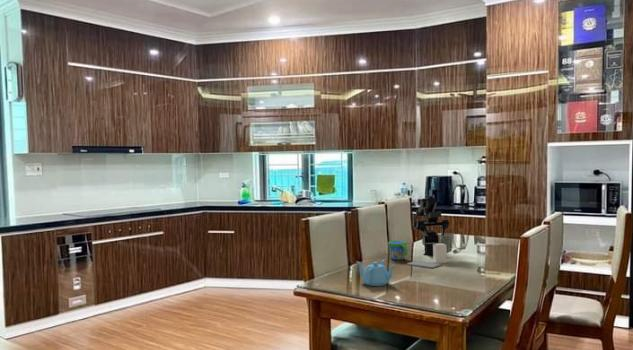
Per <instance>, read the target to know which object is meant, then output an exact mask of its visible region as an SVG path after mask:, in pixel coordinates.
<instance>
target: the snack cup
mask: <svg viewBox="0 0 633 350" xmlns="http://www.w3.org/2000/svg"><path fill="white" fill-rule="evenodd" d="M387 252H389V254H390V259H391V260H394V261H402V260H405V256H407V255H408V249H407V242H406V241H405V240H404V241H403V240H390V241H388V242H387Z"/></svg>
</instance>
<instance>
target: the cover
mask: <svg viewBox="0 0 633 350" xmlns="http://www.w3.org/2000/svg"><path fill="white" fill-rule="evenodd" d="M447 251H448V250H447V244H445V243H444V242H443V243H439V242H438V243H437V244H433V256H432V257H433V263H440V264H446V263H448V254H447V253H448V252H447Z"/></svg>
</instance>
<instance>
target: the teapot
mask: <svg viewBox="0 0 633 350" xmlns="http://www.w3.org/2000/svg"><path fill="white" fill-rule="evenodd" d="M355 262H356V263H357V264H358V267H359V268H358V269H359V275H360V276H361V277H362V278H361V281H362V282H363V283H364V284H365V285H366V286H371V287H381V286H382V287H383V286H386V285H388V284H389V282H390V280H392V277H393V267H394V266H395V264H391V265H390V266H388V267H389V268H388V270H387V268H386V266H385V258H384V259H381V260H380V263H379V262H378V261H373V262H372V264H368V265H367V266H366V267H365V269H364V268H363V264H362V262H360V261H357V260H356V261H355Z"/></svg>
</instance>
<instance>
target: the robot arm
mask: <svg viewBox="0 0 633 350" xmlns="http://www.w3.org/2000/svg"><path fill="white" fill-rule="evenodd" d="M437 203H438V200H437V199H436V198H435V197H434V196H433V195H429V196H428V198H427V197H426V198H421V199H420V201H419V204H420V205H419V207H418V209H417V210H415V215H414V216H413V218H412V227H413V229H414V230H416V231H419V232H420V233H421V234H422V236H423V237H422V240H421V243H422V245H423V246H424V253H423V256H432V257H433V244H437V243H439V239H440V236H439V235H438V233H437V232H436V231H435V229H431V230H430V228H428V227H440V231H441V235H442V237H445V231H446V230H447V229H448V228H449V226H450V220H449V219H441V220H440V221H439V218H440V217H442V212H441V210H437V211H435V210H436V206H437ZM418 217H423V218H424V219H418Z"/></svg>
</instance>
